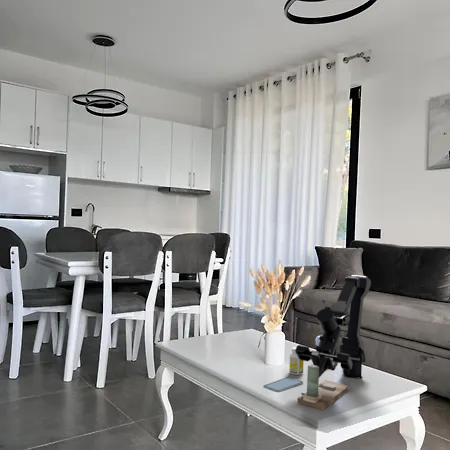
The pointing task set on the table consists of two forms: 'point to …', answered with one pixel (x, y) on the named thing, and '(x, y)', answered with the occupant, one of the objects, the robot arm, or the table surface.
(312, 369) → the pale green upright block
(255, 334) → the table surface
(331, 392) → the stepped wooden base
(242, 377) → the table surface
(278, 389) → the smartphone
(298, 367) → the supplement bottle
